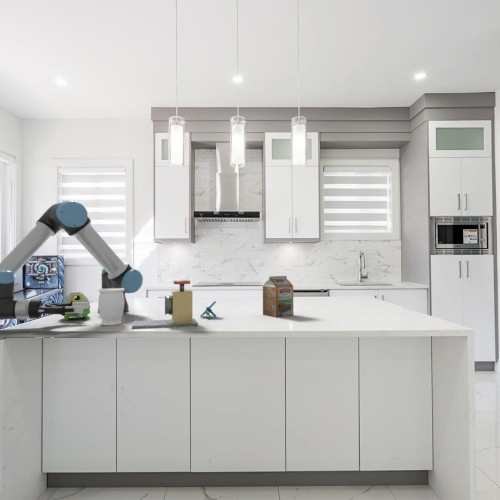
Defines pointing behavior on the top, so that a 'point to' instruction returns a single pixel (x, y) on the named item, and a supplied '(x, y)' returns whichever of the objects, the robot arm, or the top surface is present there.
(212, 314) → the teal toy telescope
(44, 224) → the robot arm
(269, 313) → the milk carton
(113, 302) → the jar
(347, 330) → the top surface
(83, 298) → the turtle holder
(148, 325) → the valve fitting
